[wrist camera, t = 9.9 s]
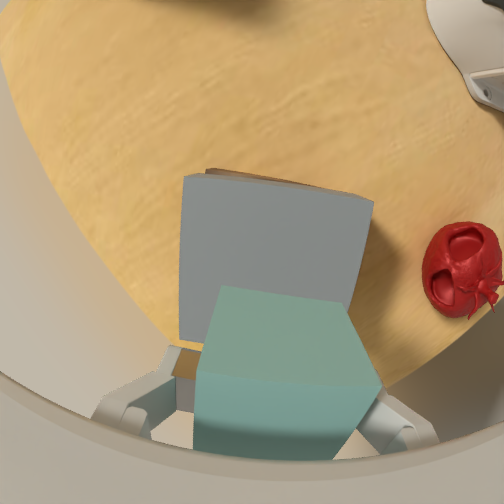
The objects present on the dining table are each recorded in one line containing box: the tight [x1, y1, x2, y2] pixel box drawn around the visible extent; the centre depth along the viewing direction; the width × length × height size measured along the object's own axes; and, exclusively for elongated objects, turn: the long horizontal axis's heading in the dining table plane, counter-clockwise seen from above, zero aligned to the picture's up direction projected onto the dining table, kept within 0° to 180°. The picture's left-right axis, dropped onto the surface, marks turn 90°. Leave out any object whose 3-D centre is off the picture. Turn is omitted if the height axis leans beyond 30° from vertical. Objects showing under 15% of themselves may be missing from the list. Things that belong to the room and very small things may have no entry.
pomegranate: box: [422, 221, 504, 320], centre depth 21 cm, size 10×10×9 cm
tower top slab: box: [179, 173, 374, 343], centre depth 20 cm, size 12×12×4 cm
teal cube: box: [193, 285, 382, 461], centre depth 10 cm, size 5×5×5 cm
